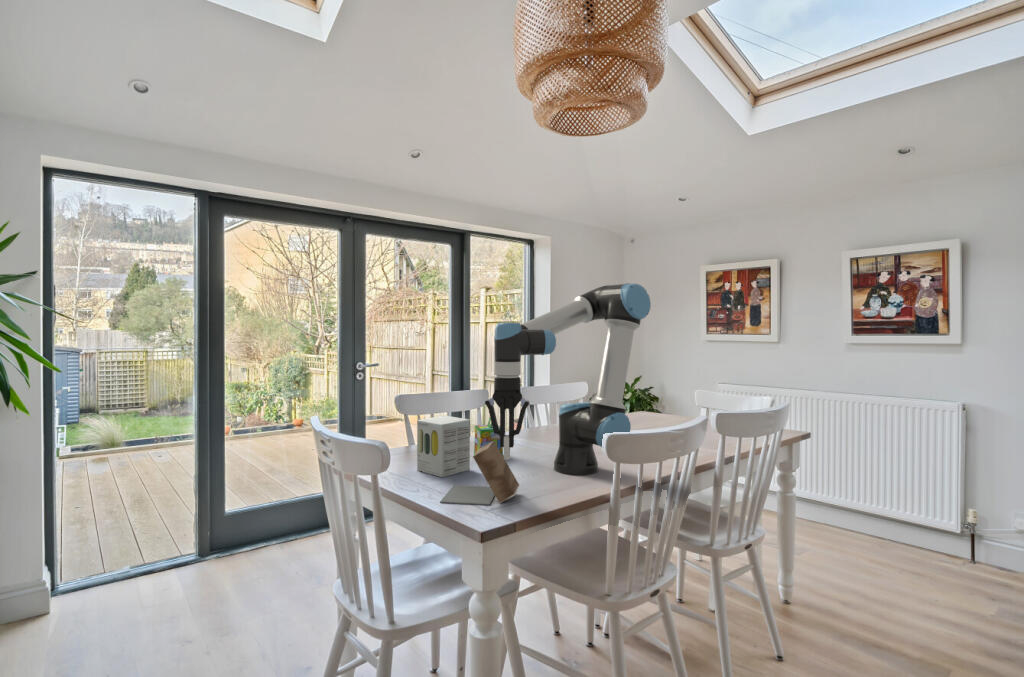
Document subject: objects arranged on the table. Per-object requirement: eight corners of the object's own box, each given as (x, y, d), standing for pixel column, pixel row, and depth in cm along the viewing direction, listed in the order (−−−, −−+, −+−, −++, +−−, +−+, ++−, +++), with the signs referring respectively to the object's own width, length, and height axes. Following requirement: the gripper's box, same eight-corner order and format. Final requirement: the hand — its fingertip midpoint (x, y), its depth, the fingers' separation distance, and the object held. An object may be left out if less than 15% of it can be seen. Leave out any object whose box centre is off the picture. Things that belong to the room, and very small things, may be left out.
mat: (498, 488, 166) (498, 487, 166) (489, 505, 150) (489, 504, 150) (453, 486, 167) (453, 485, 167) (440, 503, 152) (440, 501, 152)
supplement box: (415, 470, 186) (415, 419, 185) (444, 463, 196) (444, 415, 195) (442, 477, 177) (442, 424, 177) (470, 469, 187) (470, 419, 187)
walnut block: (519, 484, 161) (493, 440, 161) (515, 495, 151) (488, 448, 151) (504, 492, 161) (479, 448, 162) (499, 503, 151) (472, 456, 152)
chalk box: (473, 455, 209) (474, 416, 208) (496, 453, 211) (497, 415, 211) (479, 460, 200) (479, 420, 199) (503, 459, 203) (503, 419, 202)
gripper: (531, 375, 158) (530, 456, 159) (487, 374, 160) (486, 454, 160) (528, 378, 151) (528, 462, 151) (482, 377, 152) (482, 460, 153)
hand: (506, 458), depth 156 cm, fingers closed
